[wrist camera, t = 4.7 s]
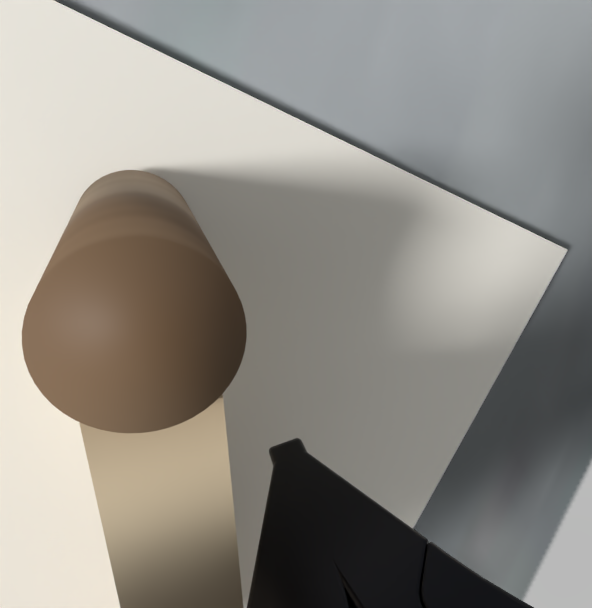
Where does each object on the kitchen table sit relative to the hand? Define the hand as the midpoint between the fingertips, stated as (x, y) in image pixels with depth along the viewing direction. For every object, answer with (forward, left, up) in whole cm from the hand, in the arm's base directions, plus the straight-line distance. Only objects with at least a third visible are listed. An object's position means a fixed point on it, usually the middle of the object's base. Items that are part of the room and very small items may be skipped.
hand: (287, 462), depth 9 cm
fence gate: (-3, +1, -2) cm, 4 cm away
